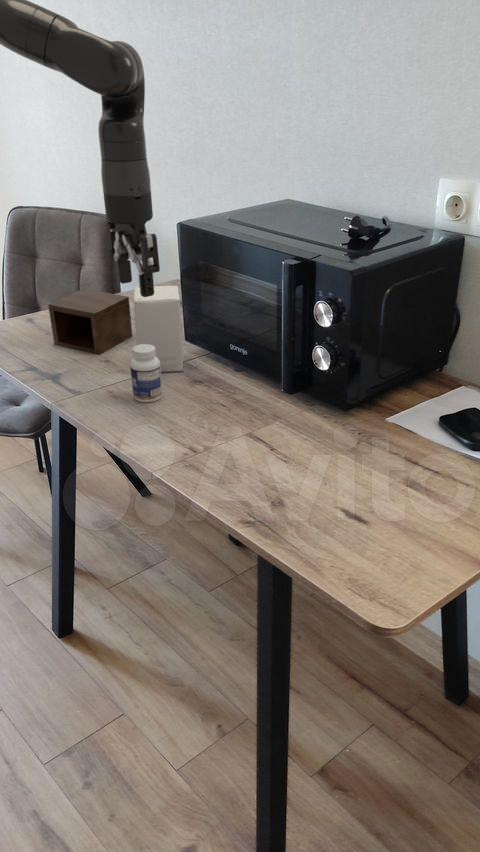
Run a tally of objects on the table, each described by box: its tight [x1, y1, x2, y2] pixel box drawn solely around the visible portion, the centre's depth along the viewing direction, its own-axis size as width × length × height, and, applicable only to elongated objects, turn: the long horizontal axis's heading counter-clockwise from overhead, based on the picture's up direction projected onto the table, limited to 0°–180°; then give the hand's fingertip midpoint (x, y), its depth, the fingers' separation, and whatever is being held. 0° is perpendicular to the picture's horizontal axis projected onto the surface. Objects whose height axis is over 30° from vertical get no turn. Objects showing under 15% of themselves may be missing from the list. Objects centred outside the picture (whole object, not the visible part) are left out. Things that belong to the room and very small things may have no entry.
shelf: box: [47, 288, 133, 355], centre depth 152 cm, size 12×12×9 cm
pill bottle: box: [129, 344, 163, 403], centre depth 129 cm, size 5×5×10 cm
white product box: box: [133, 285, 184, 373], centre depth 141 cm, size 9×9×15 cm
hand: (136, 289), depth 121 cm, fingers open, 8 cm apart
